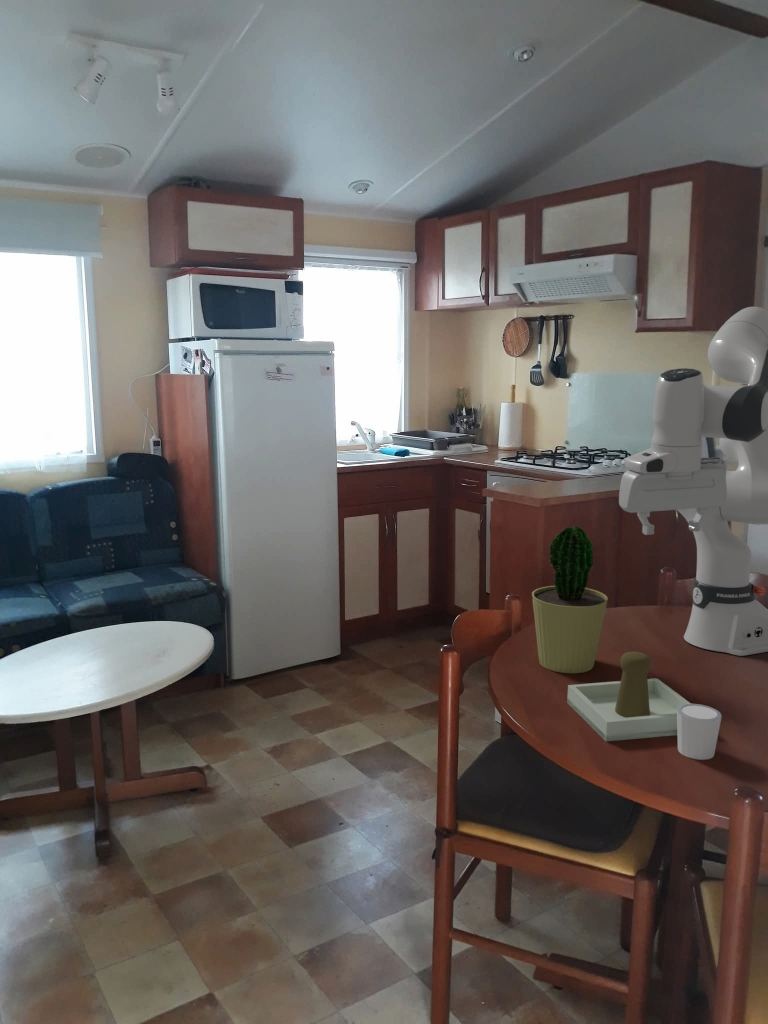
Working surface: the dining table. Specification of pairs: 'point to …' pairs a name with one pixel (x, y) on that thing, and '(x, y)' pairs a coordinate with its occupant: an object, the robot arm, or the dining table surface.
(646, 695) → the olive brown pawn
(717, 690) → the dining table surface
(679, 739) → the white cup
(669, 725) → the tray
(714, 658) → the dining table surface
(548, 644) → the potted cactus
